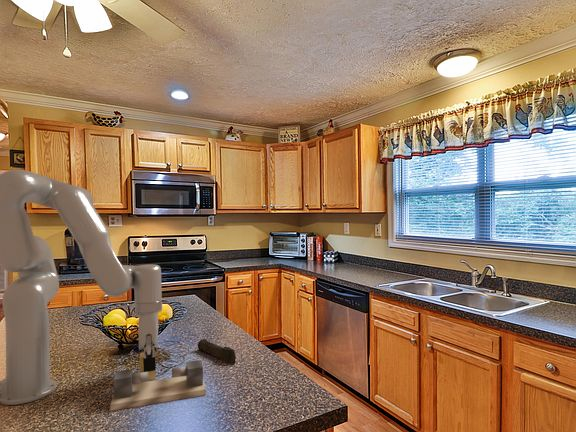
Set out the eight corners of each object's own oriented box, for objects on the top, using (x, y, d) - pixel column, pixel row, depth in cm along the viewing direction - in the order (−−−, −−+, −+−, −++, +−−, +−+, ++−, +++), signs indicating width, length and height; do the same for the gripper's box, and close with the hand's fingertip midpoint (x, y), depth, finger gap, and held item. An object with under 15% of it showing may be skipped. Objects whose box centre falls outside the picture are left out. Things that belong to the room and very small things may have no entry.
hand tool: (196, 351, 125) (196, 338, 125) (206, 348, 128) (206, 335, 128) (227, 368, 111) (227, 353, 111) (238, 364, 114) (238, 350, 114)
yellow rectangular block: (139, 382, 102) (139, 357, 102) (140, 376, 105) (140, 352, 105) (155, 379, 103) (155, 355, 103) (155, 373, 107) (155, 350, 107)
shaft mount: (110, 410, 86) (110, 384, 86) (115, 391, 96) (115, 367, 96) (205, 394, 94) (205, 370, 94) (201, 378, 104) (201, 356, 104)
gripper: (136, 301, 111) (138, 355, 111) (132, 316, 95) (134, 379, 95) (162, 298, 114) (163, 351, 114) (162, 312, 97) (163, 374, 98)
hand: (150, 364), depth 104 cm, fingers open, 9 cm apart
